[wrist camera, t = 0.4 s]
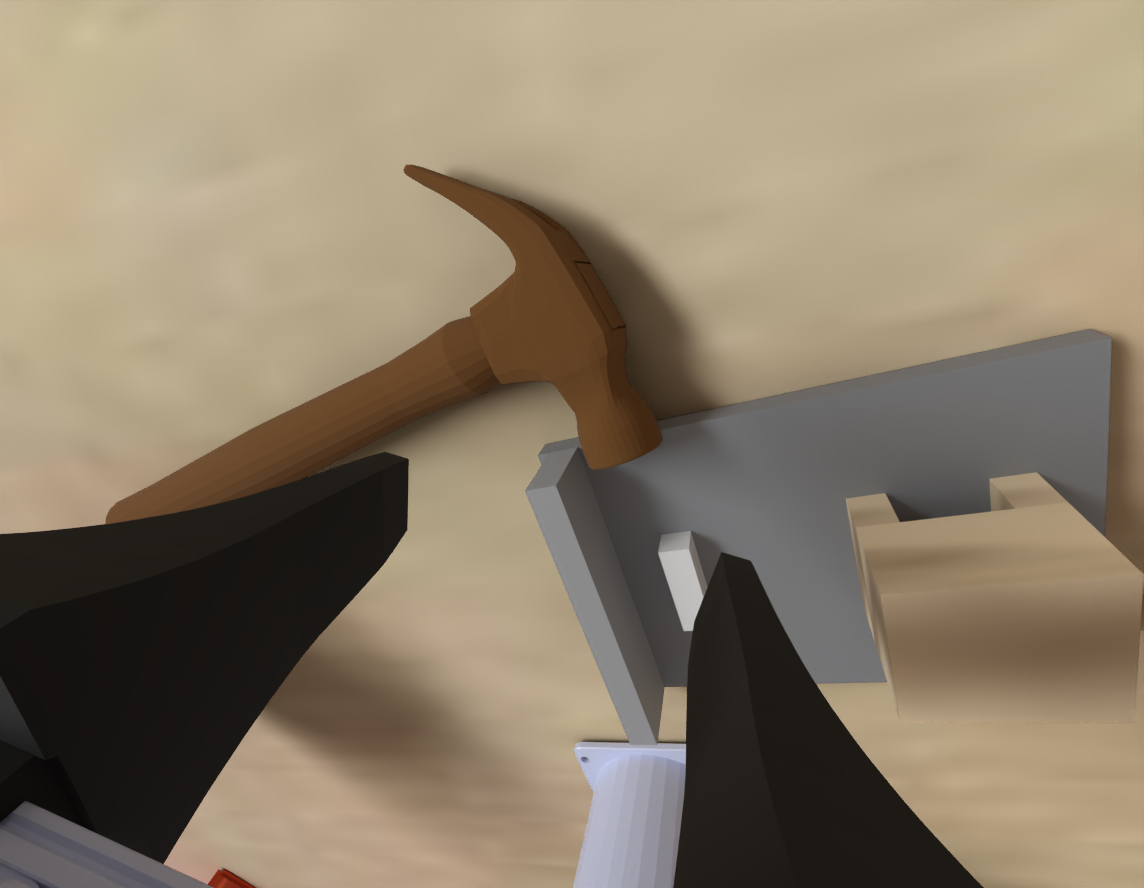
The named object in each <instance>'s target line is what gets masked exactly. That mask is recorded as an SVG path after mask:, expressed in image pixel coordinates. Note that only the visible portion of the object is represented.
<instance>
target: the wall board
mask: <svg viewBox="0 0 1144 888" xmlns="http://www.w3.org/2000/svg"><path fill="white" fill-rule="evenodd" d="M1111 345H1112V338H1111V337H1109V336H1107V335H1104V334H1102V333H1099V332H1097V331H1094V330H1092V329H1087V330H1083V331H1078V332H1073V333H1069V334H1064V335H1059V336H1054V337H1050V338H1045V339H1040V340H1036V341H1031V342H1026V343H1021V344H1017V345H1012V346H1007V347H1003V348H998V349H993V350H988V351H984V352H979V353H974V354H970V355H965V356H960V357H955V358H951V359H946V360H941V361H936V362H932V363H927V364H922V365H918V366H913V367H908V368H903V369H899V370H894V371H889V372H885V373H880V374H875V375H870V376H866V377H861V378H856V379H852V380H847V381H842V382H837V383H833V384H828V385H823V386H819V387H814V388H809V389H804V390H800V391H795V392H790V393H785V394H781V395H776V396H771V397H767V398H762V399H757V400H752V401H748V402H743V403H738V404H734V405H729V406H724V407H719V408H715V409H710V410H705V411H701V412H696V413H691V414H686V415H682V416H677V417H672V418H668V419H663V420H658V421H657V423H658V426H659V429H660V431H661V434H662V437H663V441H662V443H661V444H660V445H659V446H658V447H657V448H656V449H654V450H653V451H651V452H649V453H647V454H645V455H643V456H641V457H639V458H637V459H635V460H632V461H630V462H627V463H624V464H621V465H618V466H615V467H611V468H607V469H602V470H593V469H591V468H590V467H589V466H588V463H587V461H586V458H585V456H584V453H583V450H582V447H581V444H580V441H579V437H578V438H573V439H568V440H564V441H559V442H554V443H550V444H545V446H544V447H543V448H542V450H541V451H540V453H539V454H538V457H539V459H540V462H541V464H542V466H541V467H540V469H539V470H538V472H537V473H536V475H535V477H534V478H533V480H532V481H531V483H530V484H529V486H528V487H527V489H526V490H525V492H526V495H527V497H528V499H529V502H530V504H531V507H532V509H533V511H534V514H535V516H536V519H537V521H538V524H539V526H540V528H541V531H542V533H543V536H544V538H545V540H546V543H547V545H548V548H549V550H550V552H551V555H552V557H553V560H554V562H555V564H556V567H557V569H558V572H559V574H560V576H561V579H562V581H563V584H564V586H565V589H566V591H567V593H568V596H569V598H570V601H571V603H572V605H573V608H574V610H575V613H576V615H577V617H578V620H579V622H580V625H581V627H582V629H583V632H584V634H585V637H586V639H587V641H588V644H589V646H590V649H591V651H592V653H593V656H594V658H595V661H596V663H597V666H598V668H599V670H600V673H601V675H602V678H603V680H604V682H605V685H606V687H607V690H608V692H609V694H610V697H611V699H612V702H613V704H614V706H615V709H616V711H617V714H618V716H619V718H620V721H621V723H622V726H623V728H624V730H625V733H626V735H627V738H628V740H629V743H630V745H657V742H658V735H659V727H660V719H661V711H662V703H663V695H664V687H683V686H687V677H688V661H689V654H690V646H691V639H692V633H693V626H694V621H695V618H696V615H697V613H698V610H699V608H700V605H701V603H702V600H703V598H704V595H705V592H706V590H707V587H708V585H709V582H710V580H711V577H712V575H713V572H714V569H715V567H716V564H717V562H718V559H719V557H720V554H721V552H723V553H727V554H730V555H733V556H737V557H740V558H743V559H747V560H750V561H751V562H752V564H753V566H754V568H755V570H756V572H757V574H758V576H759V578H760V580H761V583H762V585H763V587H764V589H765V591H766V593H767V595H768V597H769V599H770V602H771V604H772V606H773V608H774V610H775V612H776V614H777V616H778V618H779V620H780V622H781V624H782V625H783V627H784V629H785V631H786V633H787V635H788V637H789V638H790V640H791V642H792V644H793V646H794V648H795V650H796V651H797V653H798V655H799V657H800V658H801V660H802V662H803V664H804V665H805V667H806V669H807V670H808V672H809V673H810V675H811V677H812V678H813V680H814V682H815V683H816V684H821V683H868V682H887V679H886V676H885V673H884V670H883V666H882V663H881V660H880V657H879V654H878V651H877V647H876V644H875V641H874V638H873V635H872V632H871V628H870V625H869V622H868V619H867V616H866V612H865V609H864V605H863V599H862V593H861V587H860V581H859V575H858V569H857V563H856V558H855V552H854V546H853V540H852V534H851V528H850V522H849V516H848V510H847V504H846V498H854V497H861V496H868V495H875V494H883V493H885V494H886V496H887V498H888V500H889V502H890V504H891V506H892V508H893V510H894V512H895V514H896V516H897V518H898V520H899V522H907V521H915V520H924V519H932V518H941V517H949V516H957V515H966V514H974V513H983V512H991V500H990V482H989V479H991V478H999V477H1006V476H1013V475H1020V474H1028V473H1035V472H1037V473H1038V474H1039V475H1040V476H1041V477H1042V478H1043V479H1044V480H1045V481H1046V482H1047V483H1048V484H1050V485H1051V486H1052V487H1053V488H1054V489H1055V490H1056V491H1057V492H1058V493H1059V494H1060V495H1061V496H1062V497H1063V498H1064V499H1065V500H1066V501H1067V502H1068V503H1069V504H1071V505H1072V506H1073V507H1074V508H1075V509H1076V510H1077V511H1078V512H1079V513H1080V514H1081V515H1082V516H1083V517H1084V518H1085V519H1086V520H1087V521H1088V522H1089V523H1090V524H1092V525H1093V526H1094V527H1095V528H1096V529H1097V530H1098V531H1099V532H1100V533H1101V534H1102V535H1103V536H1104V537H1105V522H1106V493H1107V463H1108V434H1109V404H1110V375H1111Z"/></svg>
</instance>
